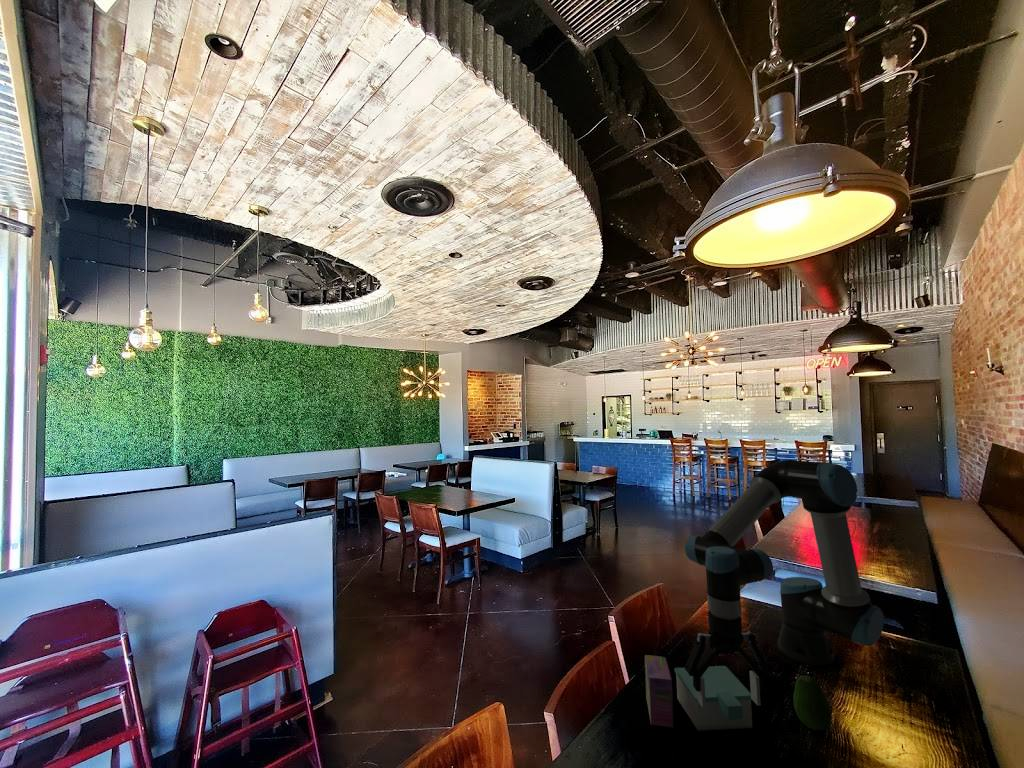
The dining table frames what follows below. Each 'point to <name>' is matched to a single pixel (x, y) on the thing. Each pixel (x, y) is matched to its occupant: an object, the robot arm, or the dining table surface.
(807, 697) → the avocado
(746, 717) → the tub
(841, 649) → the dining table surface
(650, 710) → the box
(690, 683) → the lid
